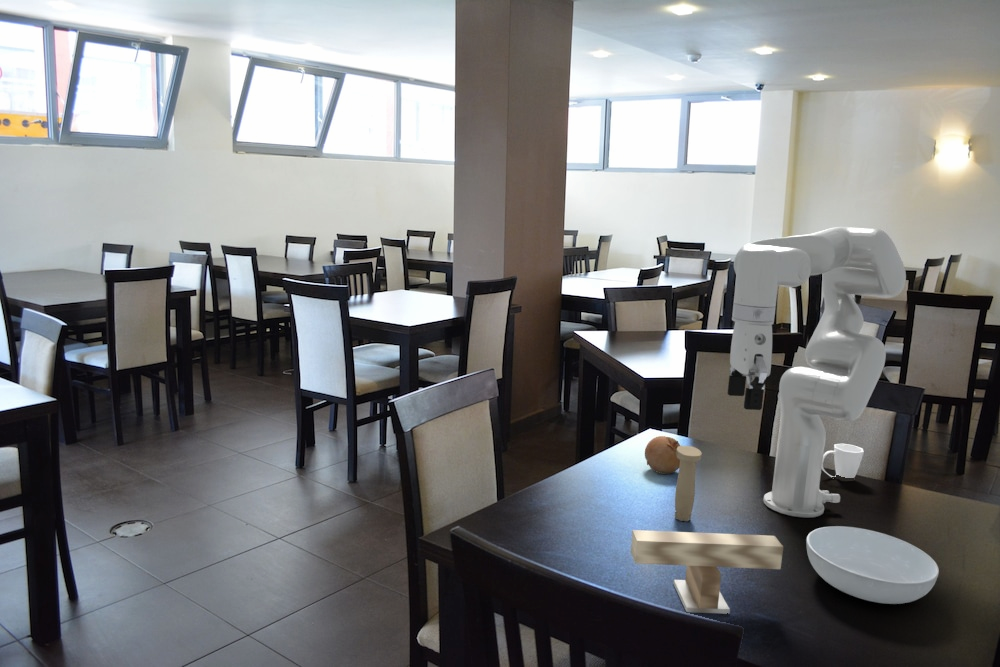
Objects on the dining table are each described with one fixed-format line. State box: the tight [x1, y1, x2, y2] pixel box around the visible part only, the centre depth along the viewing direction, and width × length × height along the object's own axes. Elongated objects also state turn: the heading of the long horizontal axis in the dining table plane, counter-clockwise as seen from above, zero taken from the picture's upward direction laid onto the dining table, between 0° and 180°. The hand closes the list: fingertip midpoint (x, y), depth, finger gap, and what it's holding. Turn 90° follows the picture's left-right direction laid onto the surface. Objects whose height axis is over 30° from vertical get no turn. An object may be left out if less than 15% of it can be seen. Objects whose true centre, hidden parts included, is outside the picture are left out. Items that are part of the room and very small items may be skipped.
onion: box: [644, 435, 681, 475], centre depth 183 cm, size 10×9×10 cm
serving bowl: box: [805, 525, 940, 605], centre depth 131 cm, size 21×21×7 cm
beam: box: [630, 529, 784, 570], centre depth 124 cm, size 24×4×4 cm, turn 90°
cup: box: [821, 443, 865, 478], centre depth 184 cm, size 7×10×8 cm
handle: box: [674, 445, 703, 522], centre depth 155 cm, size 5×6×15 cm
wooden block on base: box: [673, 566, 731, 615], centre depth 125 cm, size 7×9×7 cm
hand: (743, 402), depth 143 cm, fingers open, 9 cm apart
